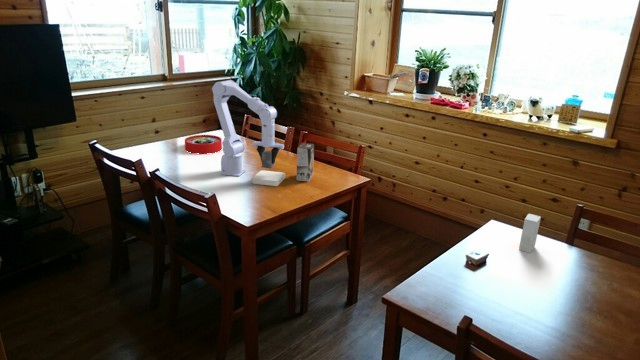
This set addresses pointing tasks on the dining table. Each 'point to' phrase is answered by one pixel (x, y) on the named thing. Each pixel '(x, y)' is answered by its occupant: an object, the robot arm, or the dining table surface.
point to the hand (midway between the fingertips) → (268, 162)
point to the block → (267, 159)
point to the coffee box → (305, 162)
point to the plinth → (268, 178)
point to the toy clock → (203, 144)
